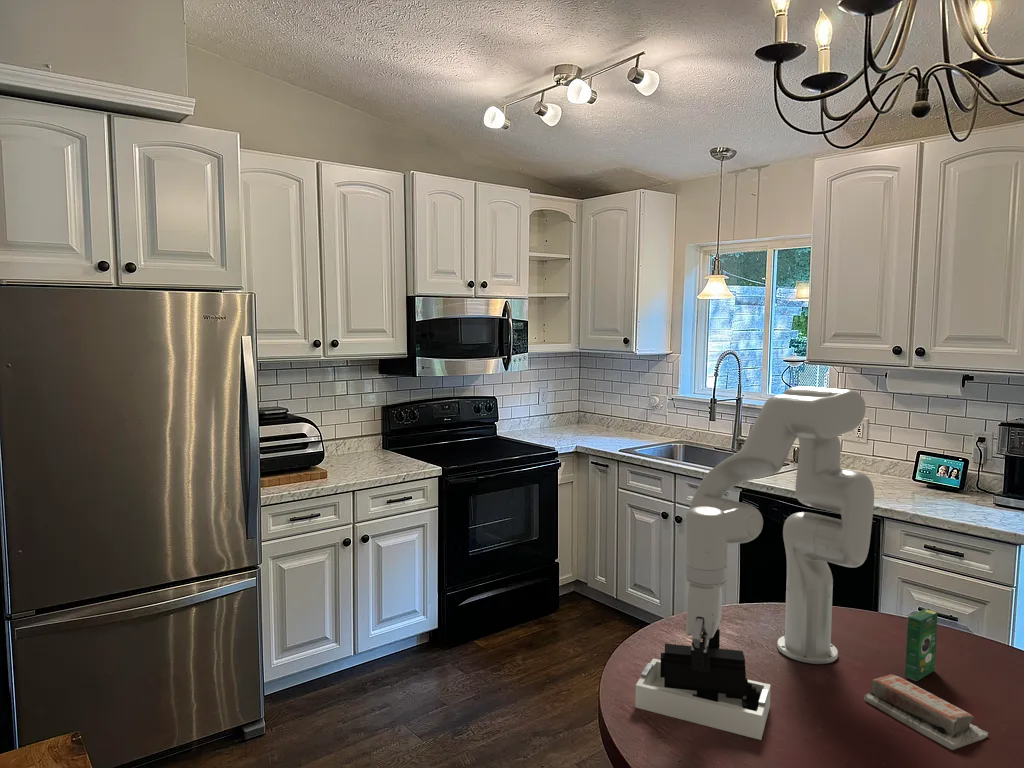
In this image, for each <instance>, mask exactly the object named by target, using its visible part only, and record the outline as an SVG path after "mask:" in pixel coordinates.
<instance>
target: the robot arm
mask: <svg viewBox="0 0 1024 768" xmlns="http://www.w3.org/2000/svg"><path fill="white" fill-rule="evenodd" d="M866 409H867V408H866V401H865V400H864V398H863V396H862V395H861V394H860V393H859V392H858V391H855V390H853V389H846V388H834V387H832V388H831V387H820V386H808V385H807V386H802V385H801V386H793V387H789V388H787V389H786V390H785V391H784V392H783V393H782V394H778V395H777V394H776V395H772V396H771V397H769V398H767V400H766V401H765V402H764V404H763V406H762V408H761V409H760V412H759V414H758V416H757V418H756V420H754V423H753V425H752V427H751V429H750V431H749V433H748V435H747V438H746V439H745V441H744V443H743V445H742V447H741V449H740V450H739V451H737V452H736V453H733V454H732V455H730V456H728V457H727V458H726V459H724V460H723V461H720V462H719V463H718V464H716V466H714V467H712V469H710V470H709V471H708V472H707V473H706V475H705V476H704V477H703V479H702V480H701V481H700V483H699V484H698V487H697V489H696V491H695V493H694V496H693V497H692V500H691V502H690V505H689V509H688V510H687V512H686V514H685V581H686V582H687V583H688V585H689V586H688V593H687V594H688V595H687V604H686V624H685V625H686V627H685V628H686V629H685V633H686V634H687V636H692V637H691V638H692V641H691V646H692V647H691V669H692V670H695V671H700V672H704V673H708V672H709V651H708V648H717V649H720V641H721V640H720V639H721V637H720V634H721V631H720V629H719V628H720V624H721V622H722V621H721V619H722V612H723V611H722V609H723V608H722V605H723V604H722V603H723V602H722V599H723V598H722V597H723V596H722V587H723V586H725V585H726V584H727V583H728V581H727V580H728V579H727V577H728V573H727V572H728V571H727V570H728V569H727V568H728V560H727V559H728V552H727V551H728V549H727V548H728V545H734V544H745V543H746V544H747V543H749V542H751V541H754V540H755V539H757V538H758V537H759V535H760V534H761V533H762V530H763V526H764V519H763V515H762V513H761V512H760V510H759V509H757V507H754V506H753V505H751V504H749V503H745V502H740V501H736V500H733V499H729V498H725V497H724V496H725V494H726V493H727V492H728V491H730V490H731V489H732V488H734V487H736V486H738V485H740V484H742V483H745V482H749V481H754V480H756V479H760V478H765V477H769V476H772V475H776V474H777V473H779V472H780V471H781V470H782V468H783V466H784V464H785V461H786V460H787V457H788V456H789V453H790V451H791V449H792V447H793V444H794V443H795V441H796V439H797V438H798V445H799V446H798V460H797V469H796V477H795V478H796V479H795V497H796V499H797V500H798V502H799V503H801V504H802V505H805V506H807V507H812V508H814V509H819V510H824V511H829V512H832V513H836V514H840V516H841V517H840V518H841V519H839V518H835V517H830V516H828V515H827V516H826V515H822V514H818V513H814V512H809V511H808V512H807V511H806V512H805V511H801V512H800V511H799V512H795V513H792V514H790V515H789V516H788V517H787V518H786V519H785V521H784V523H783V527H782V529H783V530H782V538H783V543H784V549H785V555H786V556H785V557H786V584H785V585H786V588H785V589H786V591H785V623H784V625H785V626H784V635H782V636H781V637H779V638H778V639H777V642H776V646H777V649H778V650H779V652H780V653H781V654H783V655H784V656H786V657H787V658H790V659H791V660H795V661H798V662H800V663H806V664H813V665H824V664H826V665H827V664H830V663H833V662H835V661H836V660H837V659H838V657H839V650H838V648H837V647H836V646H835V645H834V644H832V643H831V641H832V617H833V616H832V614H833V613H832V612H833V592H834V591H833V587H834V584H833V583H834V578H833V574H832V570H831V568H830V566H829V564H828V563H831V564H835V565H838V566H842V567H846V568H858V567H860V566H862V565H863V564H864V563H865V561H866V560H867V558H868V554H869V549H870V545H871V535H872V525H873V516H874V505H875V490H874V489H875V488H874V485H873V483H872V480H871V479H870V478H869V476H868V475H866V474H865V473H862V472H860V471H856V470H851V469H844V468H841V452H842V444H841V441H840V438H839V436H841V435H843V434H846V433H849V432H851V431H853V430H855V429H857V428H858V427H859V426H860V425H861V423H863V421H864V418H865V416H866V415H865V414H866V411H867V410H866Z"/></svg>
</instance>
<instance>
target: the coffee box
mask: <svg viewBox="0 0 1024 768" xmlns="http://www.w3.org/2000/svg"><path fill="white" fill-rule="evenodd" d="M938 613H939V612H938V611H934V610H931V609H928V608H924V609H922V610H919V611H917V612H915V613H913V614H910V615H908V616H907V631H906V633H907V634H906V646H905V647H906V649H905V651H906V652H905V654H906V655H905V669H904V677H906V678H907V679H910V680H912V681H914V682H918V681H920V680H922V679H924V678H925V677H927V676H928V675H930V674H932V673H933V672H935V670H936V657H937V656H936V652H937V633H938V632H937V630H938Z"/></svg>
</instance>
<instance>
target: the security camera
mask: <svg viewBox="0 0 1024 768" xmlns="http://www.w3.org/2000/svg"><path fill="white" fill-rule="evenodd" d="M691 647H692V645H684V644H683V645H682V644H673V643H672V644H671V643H664V652H660V660H661V671H660V677H663V678H664V687H666V688H675V689H684V690H694V691H697V694H692V696H695V697H699V698H703V699H707V700H711V701H715V702H718V693H722V694H726V698H734V699H742V706H743V708H744V709H748V710H753V711H756V707H758V706H759V699H760V691H756V687H752V683H749V682H748V680H749V679H748V678H746V677H747V672H746V658H745V655H744V651H743V650H737V649H725V648H719V649H717V648H708V651H709V672H708V673H704V672H700V671H695V670H692V669H691ZM743 696H746V699H743Z"/></svg>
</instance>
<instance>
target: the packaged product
mask: <svg viewBox="0 0 1024 768" xmlns="http://www.w3.org/2000/svg"><path fill="white" fill-rule="evenodd" d="M863 700H864V701H865V702H866V703H868V704H870V705H872V706H874V707H875V708H877V709H879V710H880V711H882V712H884V713H886V714H887V715H889V716H891V717H892V718H894V719H896V720H897V721H899V722H901V723H903V724H904V725H905V726H907V727H909V728H911V729H913V730H914V731H916V732H918V733H920V734H921V735H923V736H925V737H927V738H929V739H930V740H932V741H935V742H936V743H938V744H940V745H942V746H943V747H946V748H947V749H948V750H951V751H952V750H953V751H955V750H957V749H960V748H963V747H964V746H968V745H970V744H974V743H977V742H979V741H982V740H984V739H986V738H988V736H989V732H988V731H985V730H984V729H983V730H982V729H981V728H979V726H977V725H974V724H972V723H971V722H973V720H974V719H975V718H974V717H975V716H974V715H972V714H971V713H969V712H967V711H965V710H963V709H962V708H960V707H958V706H956V705H954V704H951V703H950V702H949V701H946V700H944V699H943V698H941V697H938V696H937V695H935V694H934V693H931V692H930V691H927V690H925V689H924V688H921V687H919V686H918V685H916V684H914V683H912V682H910V681H908V680H906V679H904V678H903V677H901V676H898V675H895V674H888V675H883V676H880V677H877V678H874V679H872V680H871V689H870V692H869V693H865V695H864V698H863Z"/></svg>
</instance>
